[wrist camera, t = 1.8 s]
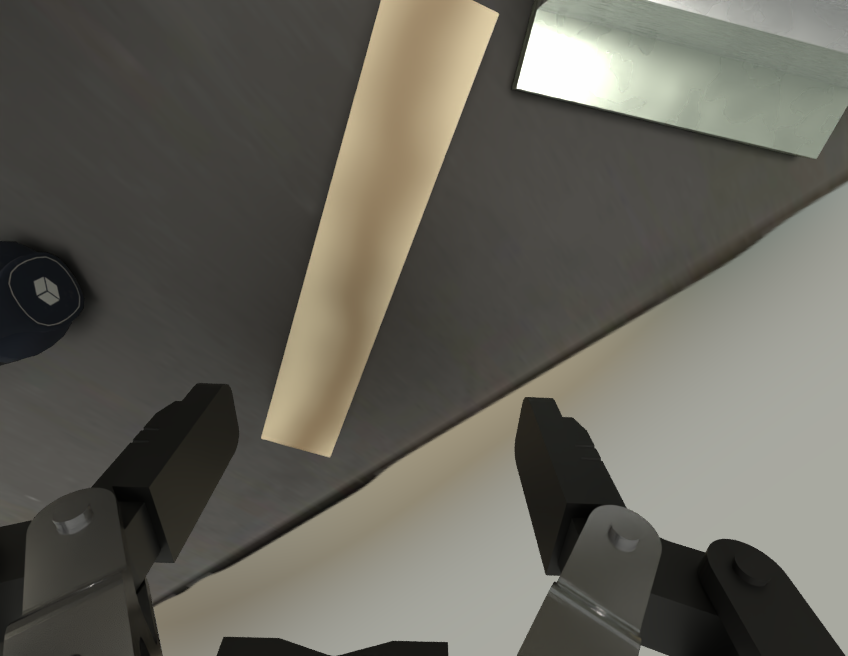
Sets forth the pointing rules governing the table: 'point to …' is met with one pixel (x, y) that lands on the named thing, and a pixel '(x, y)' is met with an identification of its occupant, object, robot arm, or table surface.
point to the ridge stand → (697, 65)
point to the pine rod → (374, 207)
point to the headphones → (34, 301)
